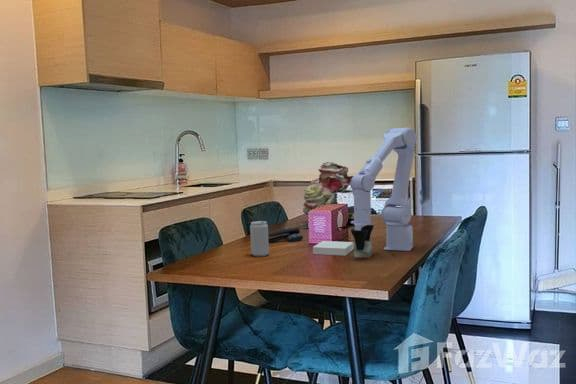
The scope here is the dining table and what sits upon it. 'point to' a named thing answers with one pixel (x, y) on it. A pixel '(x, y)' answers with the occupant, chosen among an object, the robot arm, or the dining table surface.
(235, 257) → the dining table surface
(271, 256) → the dining table surface
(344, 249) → the stacking base
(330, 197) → the rose bouquet
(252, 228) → the beverage can
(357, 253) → the green cube
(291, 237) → the can opener
